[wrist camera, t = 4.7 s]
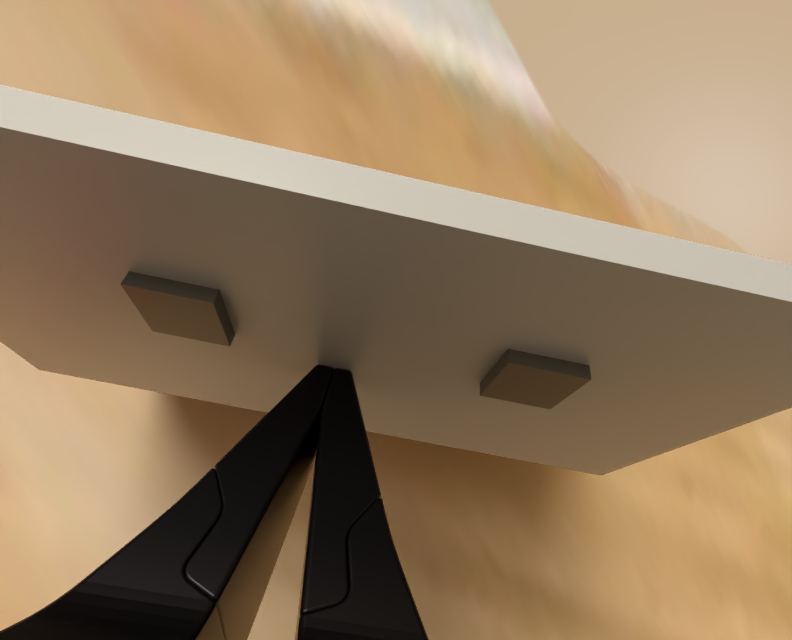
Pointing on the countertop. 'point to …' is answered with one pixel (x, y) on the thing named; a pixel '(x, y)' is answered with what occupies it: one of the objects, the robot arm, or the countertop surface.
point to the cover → (372, 293)
